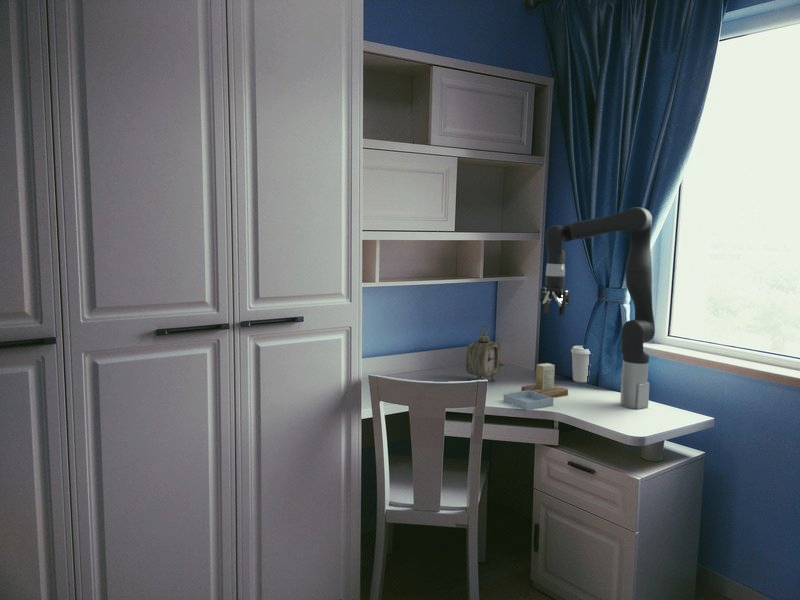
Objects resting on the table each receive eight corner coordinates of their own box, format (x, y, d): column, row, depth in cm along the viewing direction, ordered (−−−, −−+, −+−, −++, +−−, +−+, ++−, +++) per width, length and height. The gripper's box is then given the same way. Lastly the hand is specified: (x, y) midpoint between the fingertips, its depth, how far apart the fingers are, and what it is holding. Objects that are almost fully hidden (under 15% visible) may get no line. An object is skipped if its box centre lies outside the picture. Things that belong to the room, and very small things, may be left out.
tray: (553, 405, 235) (553, 398, 235) (526, 410, 229) (526, 402, 228) (529, 397, 247) (529, 390, 246) (503, 401, 240) (503, 393, 240)
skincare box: (546, 391, 256) (548, 362, 255) (554, 394, 252) (555, 364, 251) (534, 393, 253) (536, 364, 252) (541, 396, 249) (543, 366, 248)
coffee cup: (591, 379, 280) (593, 346, 278) (591, 384, 271) (593, 350, 269) (569, 377, 283) (571, 344, 281) (568, 381, 274) (570, 348, 272)
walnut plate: (567, 395, 251) (568, 389, 251) (541, 399, 244) (542, 393, 244) (546, 388, 261) (547, 382, 261) (521, 392, 254) (521, 386, 254)
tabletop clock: (481, 387, 262) (484, 328, 259) (463, 383, 267) (465, 325, 265) (499, 381, 273) (501, 324, 270) (481, 377, 279) (483, 322, 276)
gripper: (575, 275, 249) (573, 316, 251) (549, 273, 261) (548, 311, 263) (561, 276, 245) (559, 317, 247) (536, 273, 258) (534, 312, 259)
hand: (553, 314), depth 255 cm, fingers open, 8 cm apart
